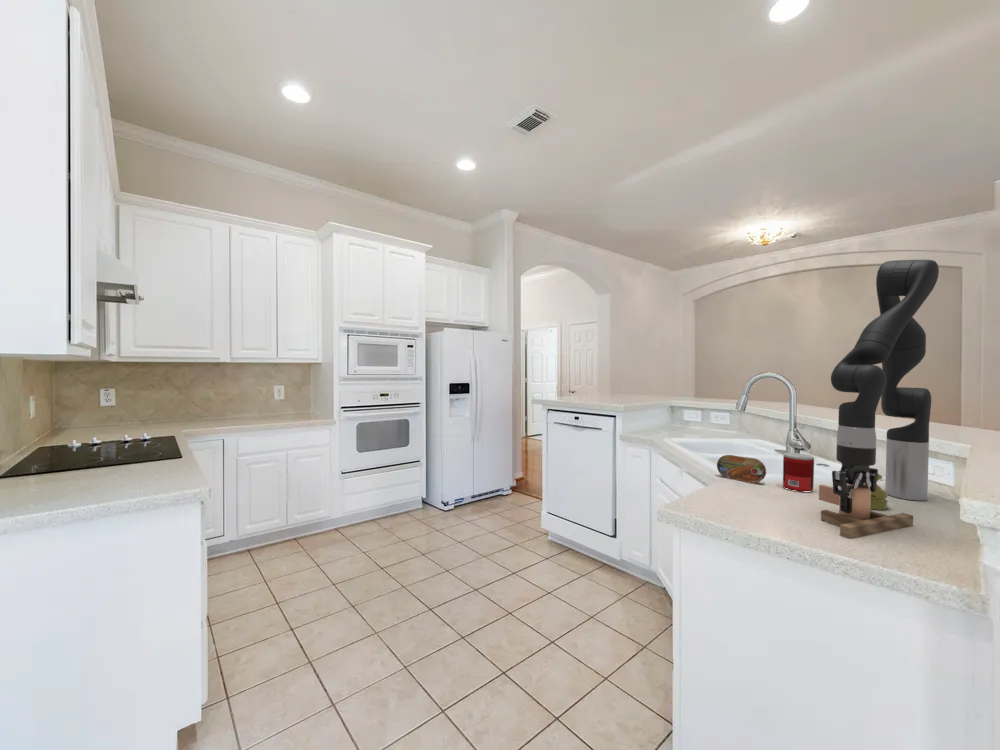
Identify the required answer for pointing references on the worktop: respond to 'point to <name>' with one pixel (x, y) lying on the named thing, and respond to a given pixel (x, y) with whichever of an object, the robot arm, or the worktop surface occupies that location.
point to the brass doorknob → (878, 498)
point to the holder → (867, 523)
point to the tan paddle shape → (859, 501)
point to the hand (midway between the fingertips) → (854, 510)
